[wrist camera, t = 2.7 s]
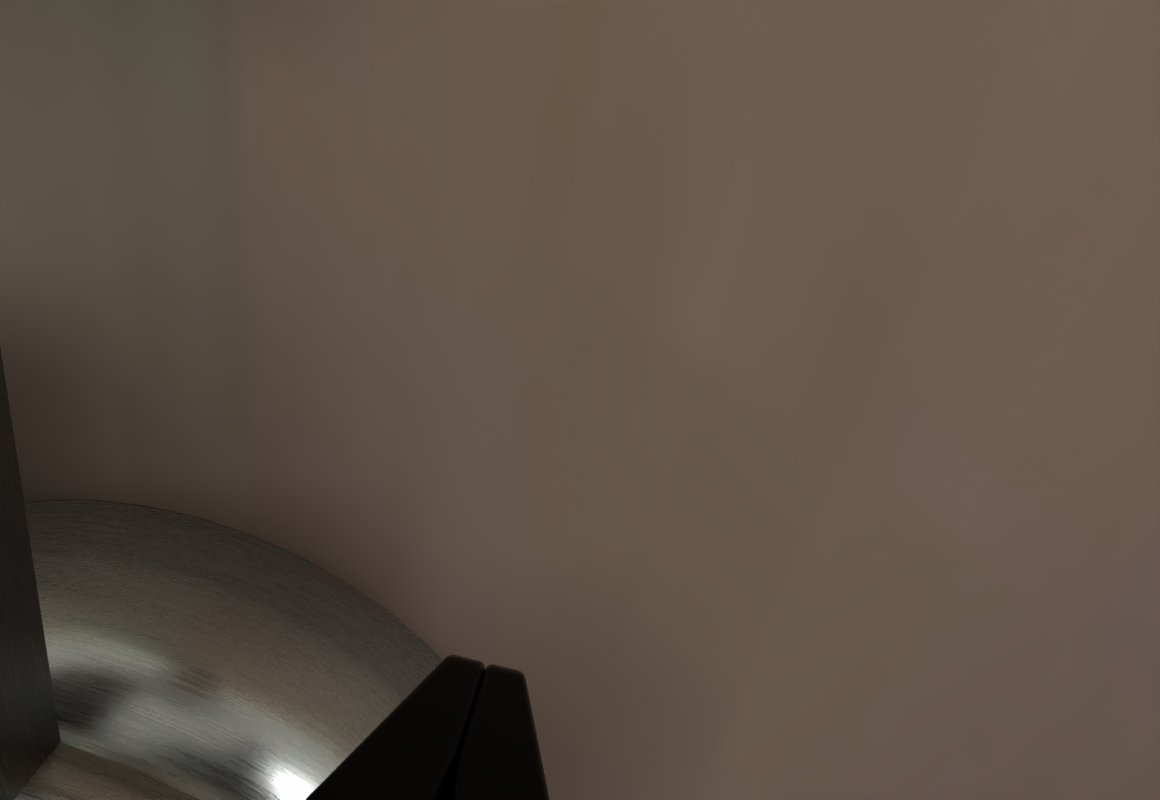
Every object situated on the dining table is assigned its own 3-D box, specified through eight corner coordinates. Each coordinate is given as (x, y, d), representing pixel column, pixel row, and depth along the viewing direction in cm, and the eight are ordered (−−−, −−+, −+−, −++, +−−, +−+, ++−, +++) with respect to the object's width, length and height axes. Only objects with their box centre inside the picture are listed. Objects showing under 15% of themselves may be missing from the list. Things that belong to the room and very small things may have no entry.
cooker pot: (623, 930, 21) (605, 1189, 16) (138, 993, 25) (22, 1209, 21) (44, 27, 12) (-323, 66, 8) (-537, 368, 17) (-977, 515, 12)
